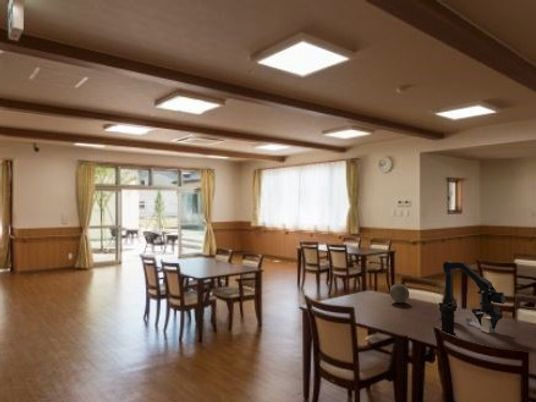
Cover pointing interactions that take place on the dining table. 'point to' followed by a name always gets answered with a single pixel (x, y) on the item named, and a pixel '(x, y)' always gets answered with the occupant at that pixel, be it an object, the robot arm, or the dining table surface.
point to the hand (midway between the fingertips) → (487, 327)
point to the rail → (478, 325)
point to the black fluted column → (448, 318)
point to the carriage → (486, 324)
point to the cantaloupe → (399, 293)
